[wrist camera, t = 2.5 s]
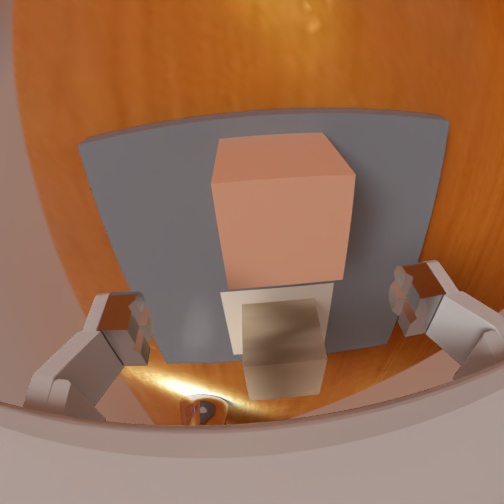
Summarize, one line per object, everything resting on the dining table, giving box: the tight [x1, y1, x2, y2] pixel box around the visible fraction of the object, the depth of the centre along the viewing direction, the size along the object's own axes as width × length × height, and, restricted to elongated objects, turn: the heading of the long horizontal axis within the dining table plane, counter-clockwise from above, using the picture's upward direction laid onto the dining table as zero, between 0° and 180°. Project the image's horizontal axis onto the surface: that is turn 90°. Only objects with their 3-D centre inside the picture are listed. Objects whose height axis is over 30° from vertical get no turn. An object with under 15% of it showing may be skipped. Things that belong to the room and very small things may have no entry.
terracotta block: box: [211, 133, 356, 290], centre depth 14 cm, size 5×5×5 cm
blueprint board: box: [78, 108, 449, 364], centre depth 20 cm, size 20×20×1 cm
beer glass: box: [180, 395, 229, 426], centre depth 29 cm, size 7×7×15 cm
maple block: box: [242, 298, 327, 400], centre depth 21 cm, size 5×5×5 cm
